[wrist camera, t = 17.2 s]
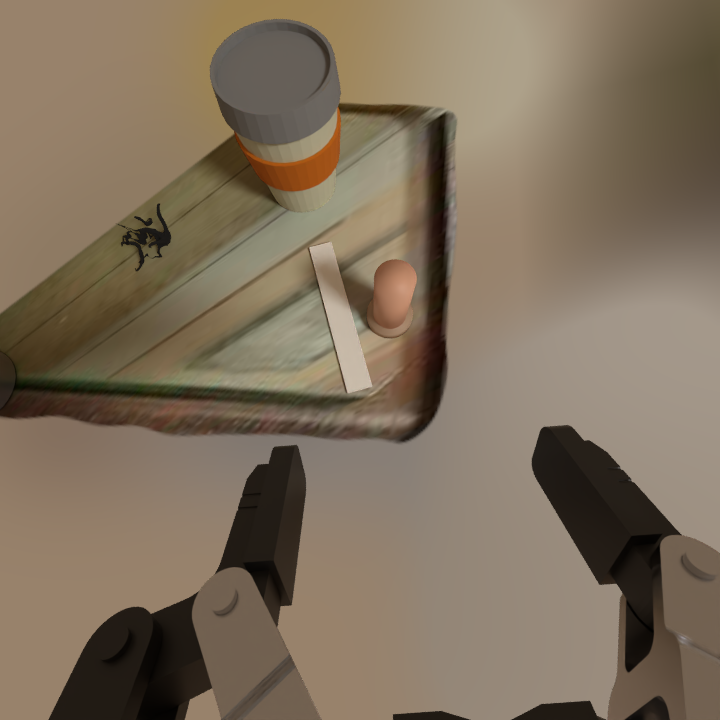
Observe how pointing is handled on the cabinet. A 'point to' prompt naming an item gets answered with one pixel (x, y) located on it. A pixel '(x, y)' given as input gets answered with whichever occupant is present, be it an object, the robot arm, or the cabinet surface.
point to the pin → (392, 299)
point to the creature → (160, 237)
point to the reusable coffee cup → (283, 107)
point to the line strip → (340, 318)
